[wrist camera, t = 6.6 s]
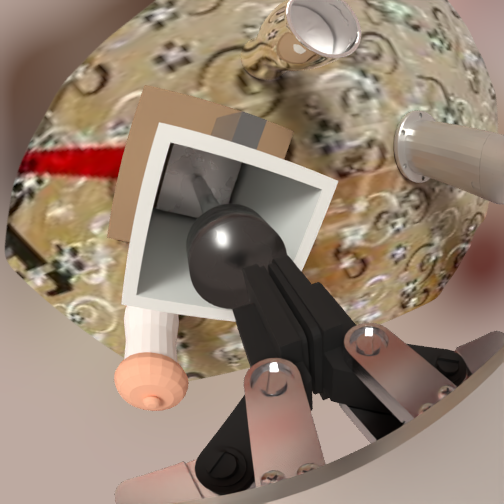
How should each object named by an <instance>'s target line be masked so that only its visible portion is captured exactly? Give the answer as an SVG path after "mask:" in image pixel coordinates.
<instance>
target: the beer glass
mask: <svg viewBox="0 0 504 504" xmlns="http://www.w3.org/2000/svg"><path fill="white" fill-rule="evenodd" d="M360 40H361V27H360V23H359V20H358V18H357V16H356V14H355V13H354V11H353V10H352V9H351V7H350V6H349V5H348V4H347V3H346V2H345V1H344V0H286V1H284V2H283V3H281V4H280V5H279V6H277V7H276V8H275V9H274V10H273V11H272V12H271V13H270V14H269V15H268V16H267V18H266V19H265V20H264V22H263V24H262V26H261V27H260V30H259V32H258V35H257V37H255V38H253V39H251V40H249V41H248V42H247V43H246V44H245V45H244V47H243V48H242V51H241V62H242V65H243V67H244V68H245V70H246V71H247V72H248V73H249V74H250V75H252V76H253V77H255V78H258V79H261V80H273V79H276V78H278V77H280V76H282V75H283V74H284V73H285V72H286V71H302V70H310V69H314V68H318V67H321V66H324V65H326V64H329V63H331V62H334V61H336V60H338V59H340V58H343V57H346V56H348V55H350V54H352V53H353V52H354V51H355V50H356V49H357V47H358V46H359V43H360Z"/></svg>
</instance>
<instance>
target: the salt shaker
mask: <svg viewBox="0 0 504 504" xmlns="http://www.w3.org/2000/svg"><path fill="white" fill-rule="evenodd" d="M124 325H125V336H126V347H125V358H124V360H123V361H122V362H121V363H120V365H119V366H118V368H117V370H116V371H115V377H114V381H115V385H116V388H117V390H118V392H119V393H120V395H121V396H122V398H123V399H124V400H125V401H126V402H127V403H129V404H131V405H132V406H134V407H137V408H140V409H143V410H151V411H160V410H165V409H170V408H172V407H174V406H176V405H177V404H178V403H179V402H180V401H181V400H182V399H183V398H184V396H185V395H186V392H187V389H188V377H187V375H186V373H185V372H184V370H183V369H182V367H181V366H180V365H179V364H178V362H177V351H176V340H177V333H178V326H179V319H178V314H174V313H168V312H162V311H155V310H150V309H144V308H138V307H133V306H127V305H126V310H125V316H124Z"/></svg>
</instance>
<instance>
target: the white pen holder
mask: <svg viewBox="0 0 504 504" xmlns="http://www.w3.org/2000/svg"><path fill="white" fill-rule="evenodd" d="M293 133H294V131H292V130H290V129H287V128H285V127H282V126H280V125H277V124H275V123H272V122H269V121H267V120H265V119H262V118H259V117H257V116H254V115H251V114H248V113H245V112H242V111H239V110H236V109H233V108H230V107H226V106H223V105H220V104H217V103H214V102H210V101H207V100H203V99H200V98H196V97H193V96H189V95H185V94H181V93H177V92H173V91H169V90H165V89H161V88H156V87H152V86H147V85H145V86H144V89H143V92H142V94H141V97H140V100H139V103H138V106H137V109H136V112H135V115H134V119H133V122H132V125H131V129H130V132H129V136H128V139H127V143H126V146H125V150H124V154H123V158H122V162H121V166H120V171H119V175H118V180H117V184H116V189H115V194H114V199H113V205H112V210H111V216H110V222H109V229H108V235H107V238H112V239H117V240H122V241H126V242H130V245H129V251H128V257H127V264H126V271H125V278H124V286H123V295H122V305H127V306H133V307H138V308H144V309H150V310H155V311H162V312H168V313H174V314H181V315H188V316H195V317H202V318H210V319H218V320H226V321H235V322H236V320H235V317H234V314H233V310H232V309H225V308H220V307H217V306H214V305H212V304H210V303H208V302H207V301H205V300H204V299H203V298H202V297H201V296H200V295H199V294H198V293H197V292H196V290H195V288H194V286H193V284H192V282H191V278H190V272H189V266H188V259H187V252H186V241H187V236H188V233H189V230H190V229H191V227H192V225H193V223H194V222H195V221H196V220H197V219H198V218H195V217H191V216H186V215H182V214H177V213H173V212H168V211H164V210H159V209H156V207H157V203H158V199H159V195H160V191H161V187H162V183H163V180H164V176H165V172H166V169H167V165H168V162H169V158H170V155H171V151H172V148H173V145H174V143H175V144H179V145H183V146H187V147H191V148H194V149H198V150H202V151H206V152H209V153H213V154H216V155H220V156H223V157H227V158H230V159H233V160H237V161H240V162H242V164H241V167H240V170H239V173H238V176H237V179H236V182H235V185H234V188H233V191H232V194H231V197H230V200H229V203H228V204H240V205H244V206H247V207H249V208H251V209H253V210H254V211H256V212H257V213H258V214H259V215H260V216H261V217H262V218H263V219H264V220H265V221H266V222H267V223H268V224H269V225H270V226H271V227H272V228H273V229H274V230H275V231H276V232H277V233H278V235H279V236H280V237H281V239H282V241H283V242H284V245H285V247H286V251H287V255H288V256H289V257H290V258H291V259H292V261H293V262H294V263H295V264H296V266H297V267H298V268H299V269H300V270H301V272H302V269H303V267H304V265H305V262H306V260H307V258H308V255H309V253H310V251H311V248H312V246H313V243H314V241H315V239H316V236H317V234H318V231H319V229H320V227H321V224H322V222H323V219H324V217H325V214H326V212H327V209H328V207H329V204H330V201H331V199H332V196H333V194H334V191H335V189H336V186H337V183H338V181H337V180H334V179H332V178H330V177H327V176H325V175H322V174H320V173H318V172H315V171H313V170H310V169H307V168H305V167H302V166H300V165H297V164H294V163H292V162H289V161H286V160H284V158H285V155H286V153H287V150H288V147H289V144H290V141H291V139H292V136H293Z"/></svg>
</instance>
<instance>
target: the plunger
mask: <svg viewBox="0 0 504 504" xmlns="http://www.w3.org/2000/svg"><path fill="white" fill-rule="evenodd" d="M241 164H242V162H240V161H237V160H233V159H230V158H227V157H223V156H220V155H216V154H213V153H209V152H206V151H202V150H198V149H194V148H191V147H187V146H183V145H179V144H175V143H174V145H173V148H172V151H171V155H170V158H169V162H168V165H167V169H166V172H165V176H164V180H163V183H162V187H161V191H160V195H159V199H158V203H157V207H156V209H159V210H164V211H168V212H173V213H177V214H182V215H186V216H191V217H195V218H198V219H197V220H196V221H195V222H194V223H193V225H192V227H191V229H190V230H189V233H188V236H187V241H186V252H187V259H188V266H189V272H190V278H191V282H192V284H193V286H194V288H195V290H196V292H197V293H198V294H199V295H200V296H201V297H202V298H203V299H204V300H205V301H207V302H208V303H210V304H212V305H214V306H217V307H220V308H225V309H234V308H238V307H241V306H245V305H248V304H250V301H249V297H248V293H247V288H246V284H245V280H244V276H243V271H242V268H244V267H247V266H251V265H254V264H258V266H259V267H262V266H264V267H265V268H266V270H267V271H268V273H269V270H268V265H269V264H272V260H273V259H275V258H278V257H282V256H285V255H287V251H286V247H285V245H284V242H283V241H282V239H281V237H280V236H279V235H278V233H277V232H276V231H275V230H274V229H273V228H272V227H271V226H270V225H269V224H268V223H267V222H266V221H265V220H264V219H263V218H262V217H261V216H260V215H259V214H258V213H257V212H256V211H254V210H253V209H251V208H249V207H247V206H244V205H240V204H228V203H229V200H230V197H231V194H232V191H233V188H234V185H235V182H236V179H237V176H238V173H239V170H240V167H241Z"/></svg>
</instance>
